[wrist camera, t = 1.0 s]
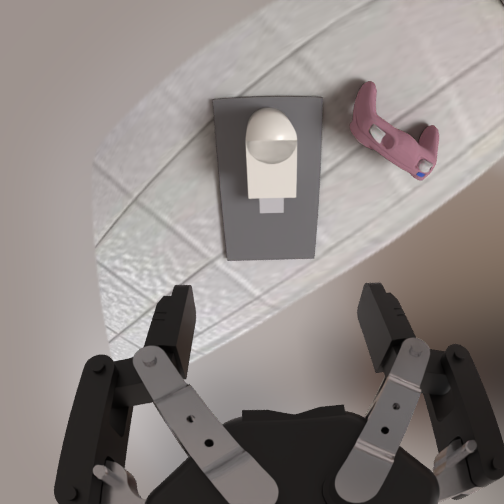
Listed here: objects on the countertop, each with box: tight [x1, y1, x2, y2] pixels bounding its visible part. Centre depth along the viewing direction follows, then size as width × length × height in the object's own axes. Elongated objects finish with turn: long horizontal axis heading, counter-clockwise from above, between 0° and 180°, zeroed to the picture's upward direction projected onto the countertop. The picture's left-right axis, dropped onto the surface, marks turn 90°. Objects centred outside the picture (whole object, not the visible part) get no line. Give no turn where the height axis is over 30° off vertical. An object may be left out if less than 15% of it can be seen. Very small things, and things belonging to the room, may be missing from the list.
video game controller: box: [350, 81, 439, 180], centre depth 25 cm, size 10×5×7 cm, turn 66°
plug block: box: [246, 107, 297, 213], centre depth 26 cm, size 9×4×5 cm, turn 2°
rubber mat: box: [213, 96, 323, 261], centre depth 30 cm, size 18×10×1 cm, turn 2°
